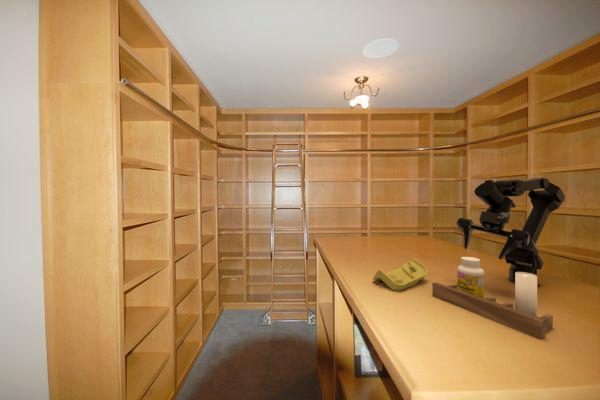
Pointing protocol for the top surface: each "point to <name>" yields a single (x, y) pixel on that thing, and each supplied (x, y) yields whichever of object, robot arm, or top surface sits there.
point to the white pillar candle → (526, 292)
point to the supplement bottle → (470, 277)
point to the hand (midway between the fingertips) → (481, 253)
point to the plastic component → (403, 275)
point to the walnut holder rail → (495, 310)
